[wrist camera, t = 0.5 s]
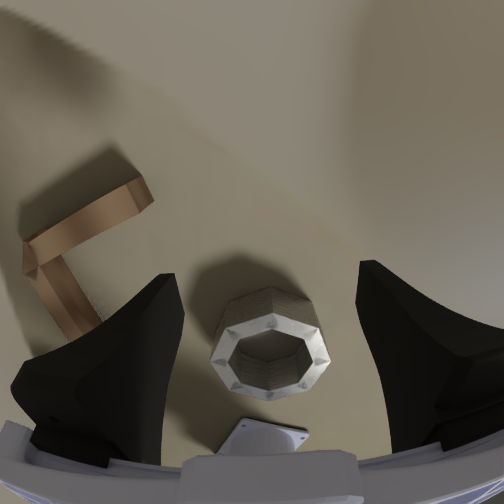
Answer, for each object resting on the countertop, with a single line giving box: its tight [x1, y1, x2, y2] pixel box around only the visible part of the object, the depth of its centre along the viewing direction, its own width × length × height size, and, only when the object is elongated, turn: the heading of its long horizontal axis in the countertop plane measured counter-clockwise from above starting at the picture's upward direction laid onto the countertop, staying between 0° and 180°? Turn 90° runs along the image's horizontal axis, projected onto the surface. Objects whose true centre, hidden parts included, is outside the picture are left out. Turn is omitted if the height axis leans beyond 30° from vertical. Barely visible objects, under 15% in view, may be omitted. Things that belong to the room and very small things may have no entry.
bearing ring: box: [210, 287, 331, 401], centre depth 24 cm, size 8×8×4 cm
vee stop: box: [22, 176, 154, 342], centre depth 22 cm, size 17×9×3 cm, turn 157°
